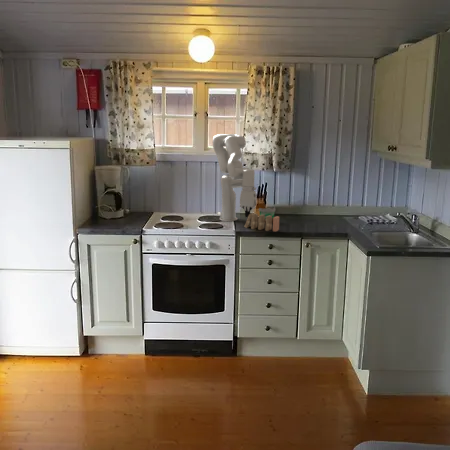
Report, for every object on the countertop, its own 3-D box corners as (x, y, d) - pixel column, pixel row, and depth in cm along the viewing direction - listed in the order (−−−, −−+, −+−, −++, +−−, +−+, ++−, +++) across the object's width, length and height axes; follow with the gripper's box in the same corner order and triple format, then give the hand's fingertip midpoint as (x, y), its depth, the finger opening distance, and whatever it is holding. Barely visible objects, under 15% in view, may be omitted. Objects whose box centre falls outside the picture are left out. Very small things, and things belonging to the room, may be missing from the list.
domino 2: (251, 228, 301) (251, 214, 299) (254, 227, 305) (255, 213, 303) (253, 229, 300) (254, 215, 298) (257, 227, 304) (257, 213, 302)
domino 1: (244, 226, 303) (249, 214, 300) (247, 225, 308) (252, 213, 304) (246, 228, 303) (251, 215, 299) (250, 226, 307) (255, 214, 304)
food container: (262, 224, 314) (262, 209, 312) (258, 222, 320) (258, 207, 318) (278, 223, 319) (279, 208, 317) (274, 221, 324) (274, 206, 322)
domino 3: (258, 229, 299) (258, 215, 297) (261, 228, 303) (262, 214, 301) (261, 230, 298) (261, 216, 296) (264, 228, 302) (264, 214, 300)
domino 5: (272, 231, 294) (273, 217, 292) (275, 230, 298) (276, 216, 296) (275, 232, 293) (276, 218, 291) (278, 230, 297) (279, 216, 295)
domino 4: (265, 230, 296) (265, 216, 294) (268, 229, 301) (269, 215, 299) (268, 231, 296) (268, 217, 294) (271, 229, 300) (272, 215, 298)
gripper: (261, 189, 299) (260, 217, 303) (240, 187, 306) (239, 214, 310) (256, 190, 293) (255, 219, 297) (235, 188, 300) (234, 216, 304)
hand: (247, 216), depth 304 cm, fingers closed
